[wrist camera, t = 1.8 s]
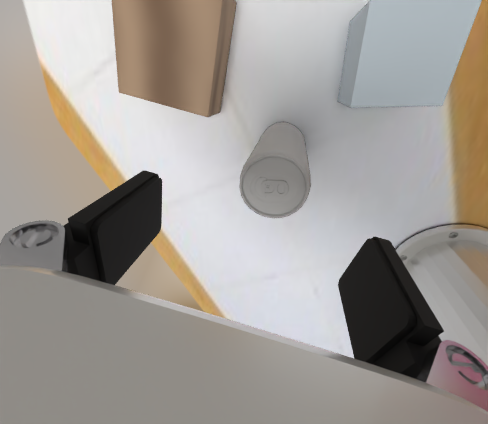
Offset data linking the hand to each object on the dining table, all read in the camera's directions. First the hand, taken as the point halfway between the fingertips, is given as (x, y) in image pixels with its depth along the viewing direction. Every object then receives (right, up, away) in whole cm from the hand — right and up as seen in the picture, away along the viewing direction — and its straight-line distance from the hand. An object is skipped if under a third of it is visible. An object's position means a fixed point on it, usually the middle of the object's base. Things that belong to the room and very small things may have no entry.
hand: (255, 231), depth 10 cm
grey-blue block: (+11, +14, +10) cm, 20 cm away
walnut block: (-7, +17, +12) cm, 22 cm away
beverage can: (+4, +9, +15) cm, 17 cm away
